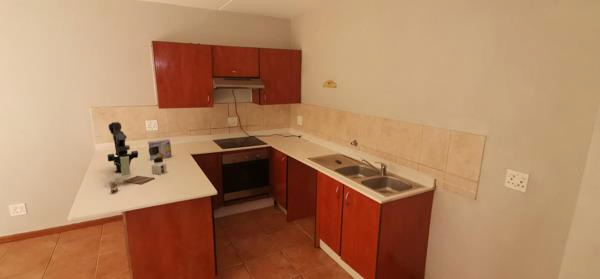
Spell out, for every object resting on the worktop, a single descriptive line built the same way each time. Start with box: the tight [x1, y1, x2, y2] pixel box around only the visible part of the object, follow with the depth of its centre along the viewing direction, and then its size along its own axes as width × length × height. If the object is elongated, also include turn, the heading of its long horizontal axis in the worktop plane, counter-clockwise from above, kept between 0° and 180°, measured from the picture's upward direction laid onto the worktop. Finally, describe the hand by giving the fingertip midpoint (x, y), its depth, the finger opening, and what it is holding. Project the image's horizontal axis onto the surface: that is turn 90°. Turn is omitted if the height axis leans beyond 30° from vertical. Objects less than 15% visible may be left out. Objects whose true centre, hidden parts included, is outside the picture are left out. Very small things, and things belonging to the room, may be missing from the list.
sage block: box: [120, 156, 131, 177], centre depth 209 cm, size 5×5×13 cm
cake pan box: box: [147, 138, 173, 161], centre depth 274 cm, size 19×5×18 cm, turn 129°
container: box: [150, 157, 168, 176], centre depth 234 cm, size 8×8×13 cm
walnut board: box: [123, 175, 156, 185], centre depth 218 cm, size 16×13×1 cm
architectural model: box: [109, 180, 121, 194], centre depth 196 cm, size 3×7×7 cm, turn 8°
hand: (125, 166), depth 208 cm, fingers closed on sage block, 5 cm apart
